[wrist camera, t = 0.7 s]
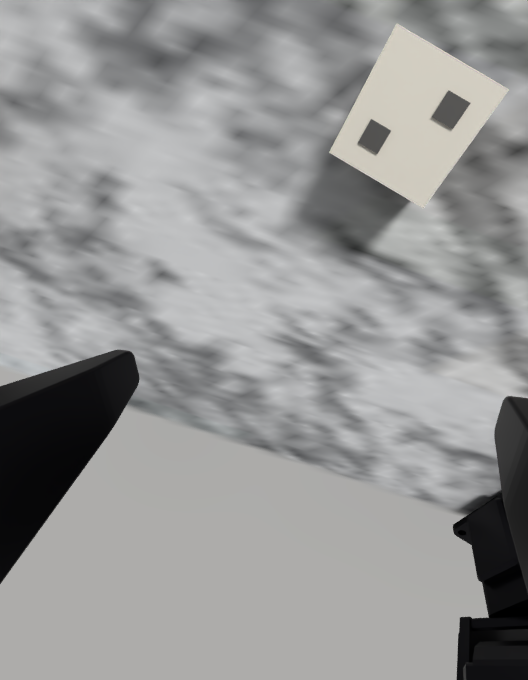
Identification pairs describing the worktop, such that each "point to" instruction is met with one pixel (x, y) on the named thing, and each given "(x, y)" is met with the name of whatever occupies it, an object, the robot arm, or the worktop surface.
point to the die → (415, 116)
